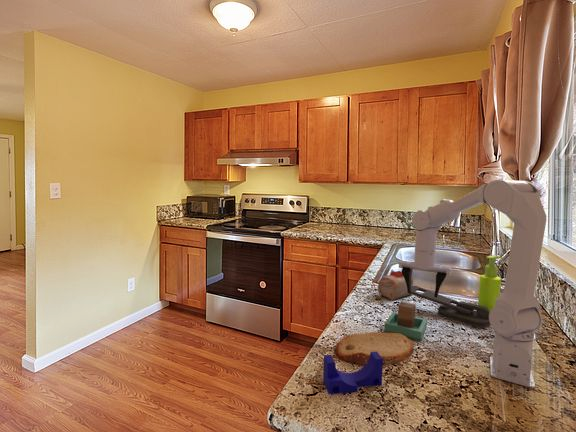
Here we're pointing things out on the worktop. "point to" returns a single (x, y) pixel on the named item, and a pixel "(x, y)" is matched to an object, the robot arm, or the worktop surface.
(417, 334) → the teal well
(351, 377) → the blue cradle
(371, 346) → the bread slice
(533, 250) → the robot arm
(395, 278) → the food item
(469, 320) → the dark grey stapler
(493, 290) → the soap dispenser
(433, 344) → the worktop surface
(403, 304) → the walnut post
